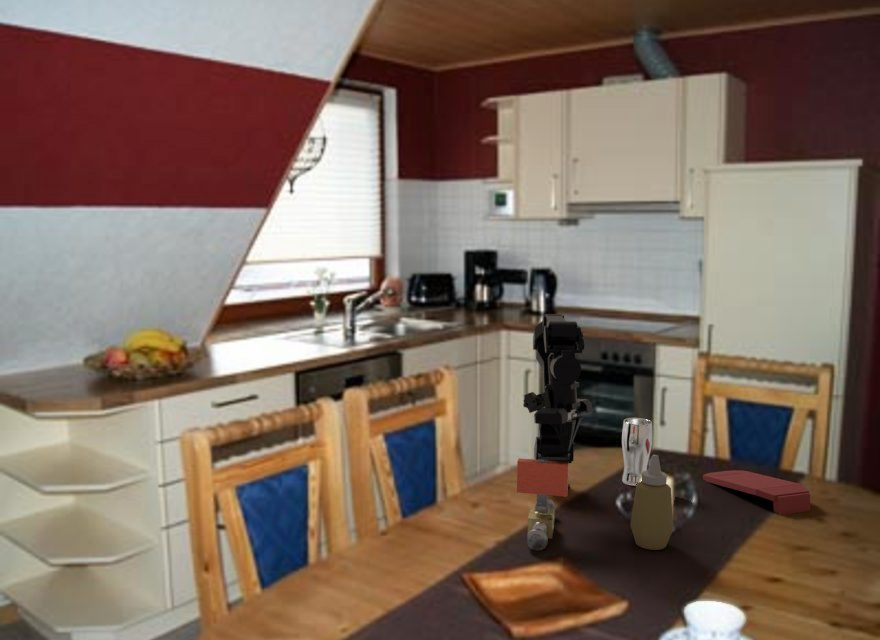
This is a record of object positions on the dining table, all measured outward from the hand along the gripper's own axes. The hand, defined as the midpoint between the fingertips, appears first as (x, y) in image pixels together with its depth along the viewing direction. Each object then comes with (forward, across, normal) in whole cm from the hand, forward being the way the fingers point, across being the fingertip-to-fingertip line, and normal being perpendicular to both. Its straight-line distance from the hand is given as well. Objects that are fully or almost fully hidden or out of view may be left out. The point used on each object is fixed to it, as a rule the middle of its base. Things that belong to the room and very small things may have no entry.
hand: (566, 450), depth 172 cm
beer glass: (+12, -25, +6) cm, 29 cm away
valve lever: (+9, +15, 0) cm, 17 cm away
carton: (+16, -34, +32) cm, 49 cm away
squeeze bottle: (+16, +8, +20) cm, 27 cm away
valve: (+14, +14, -1) cm, 20 cm away
